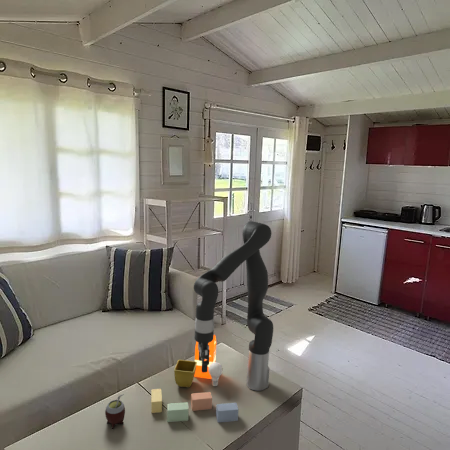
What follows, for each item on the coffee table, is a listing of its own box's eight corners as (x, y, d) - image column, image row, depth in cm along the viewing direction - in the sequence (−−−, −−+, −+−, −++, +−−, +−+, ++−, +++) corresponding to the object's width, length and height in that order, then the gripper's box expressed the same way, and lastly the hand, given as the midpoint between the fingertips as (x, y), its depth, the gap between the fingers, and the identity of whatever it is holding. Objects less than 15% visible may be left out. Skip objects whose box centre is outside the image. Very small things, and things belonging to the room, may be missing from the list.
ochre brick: (151, 400, 147) (151, 389, 146) (161, 399, 148) (161, 388, 147) (151, 413, 139) (151, 402, 138) (161, 412, 140) (161, 401, 139)
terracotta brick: (210, 402, 147) (210, 391, 146) (211, 409, 143) (212, 398, 143) (190, 404, 146) (191, 393, 145) (192, 411, 142) (192, 399, 141)
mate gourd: (109, 416, 136) (109, 380, 134) (129, 417, 136) (129, 382, 134) (102, 430, 129) (101, 393, 127) (123, 431, 129) (123, 394, 126)
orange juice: (197, 367, 172) (198, 329, 169) (215, 369, 171) (217, 331, 168) (193, 376, 164) (195, 336, 161) (212, 379, 163) (214, 339, 160)
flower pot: (196, 379, 163) (197, 361, 161) (192, 391, 154) (193, 372, 153) (177, 377, 163) (178, 359, 162) (173, 388, 155) (173, 370, 153)
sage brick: (187, 413, 140) (187, 402, 139) (188, 420, 136) (188, 409, 135) (167, 415, 139) (167, 403, 138) (167, 422, 135) (167, 410, 134)
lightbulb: (211, 391, 154) (212, 368, 153) (205, 383, 160) (206, 360, 158) (224, 387, 157) (225, 365, 156) (217, 380, 163) (219, 358, 161)
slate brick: (235, 413, 141) (236, 402, 140) (237, 420, 137) (238, 409, 137) (215, 415, 140) (216, 404, 139) (217, 422, 136) (218, 411, 135)
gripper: (216, 336, 133) (215, 375, 136) (210, 319, 147) (209, 355, 149) (197, 337, 131) (195, 377, 134) (192, 320, 145) (191, 357, 148)
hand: (202, 365), depth 142 cm, fingers open, 8 cm apart
